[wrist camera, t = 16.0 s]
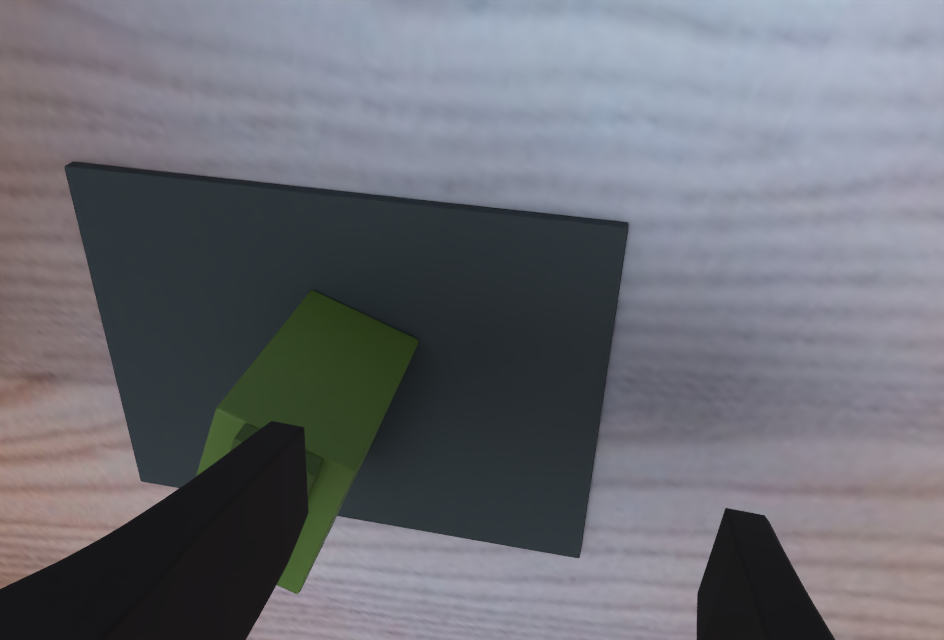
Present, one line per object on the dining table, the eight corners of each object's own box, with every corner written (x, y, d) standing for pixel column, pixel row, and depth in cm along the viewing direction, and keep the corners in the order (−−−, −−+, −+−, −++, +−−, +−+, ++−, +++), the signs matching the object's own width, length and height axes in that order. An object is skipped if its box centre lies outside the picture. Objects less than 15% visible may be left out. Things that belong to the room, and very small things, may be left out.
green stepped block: (367, 452, 26) (288, 614, 20) (269, 407, 25) (163, 558, 20) (420, 339, 23) (346, 490, 17) (311, 287, 23) (202, 424, 17)
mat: (580, 549, 26) (579, 559, 26) (146, 474, 29) (140, 481, 28) (628, 222, 20) (628, 228, 20) (72, 161, 23) (63, 166, 22)
